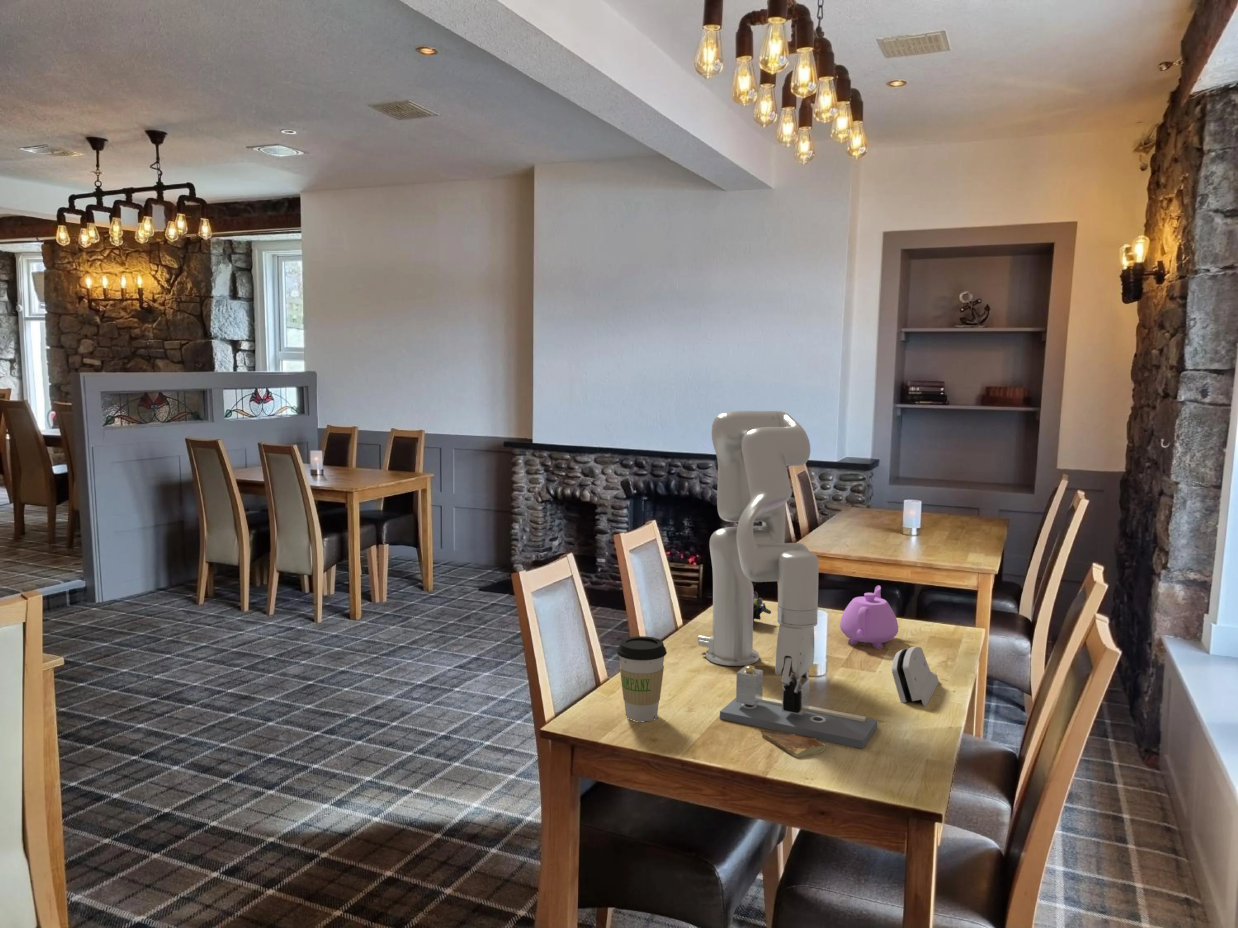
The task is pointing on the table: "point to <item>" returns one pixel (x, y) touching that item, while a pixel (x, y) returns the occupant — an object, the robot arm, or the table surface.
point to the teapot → (869, 620)
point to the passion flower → (758, 607)
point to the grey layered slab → (913, 675)
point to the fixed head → (749, 685)
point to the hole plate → (803, 722)
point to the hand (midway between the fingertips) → (795, 706)
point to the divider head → (801, 695)
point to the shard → (795, 743)
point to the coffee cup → (641, 676)
